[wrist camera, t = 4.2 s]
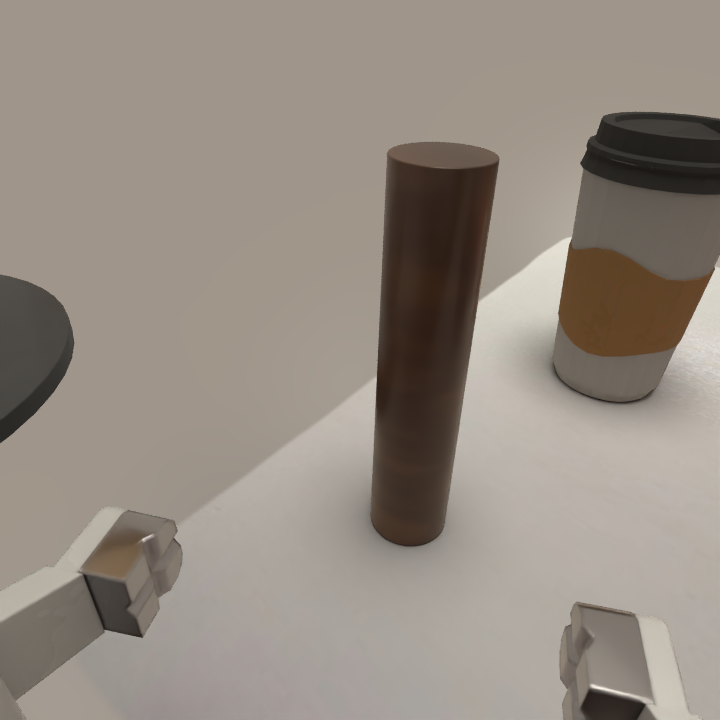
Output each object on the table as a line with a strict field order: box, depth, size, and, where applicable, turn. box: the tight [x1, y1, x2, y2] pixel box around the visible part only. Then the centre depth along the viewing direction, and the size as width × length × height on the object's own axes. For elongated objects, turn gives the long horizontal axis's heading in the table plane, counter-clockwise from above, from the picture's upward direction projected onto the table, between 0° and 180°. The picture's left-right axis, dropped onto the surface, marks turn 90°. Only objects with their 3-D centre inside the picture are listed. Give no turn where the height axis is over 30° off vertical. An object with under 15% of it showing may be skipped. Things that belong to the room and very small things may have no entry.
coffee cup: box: [553, 112, 720, 402], centre depth 32 cm, size 8×8×15 cm
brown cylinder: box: [371, 142, 499, 546], centre depth 21 cm, size 3×3×16 cm
